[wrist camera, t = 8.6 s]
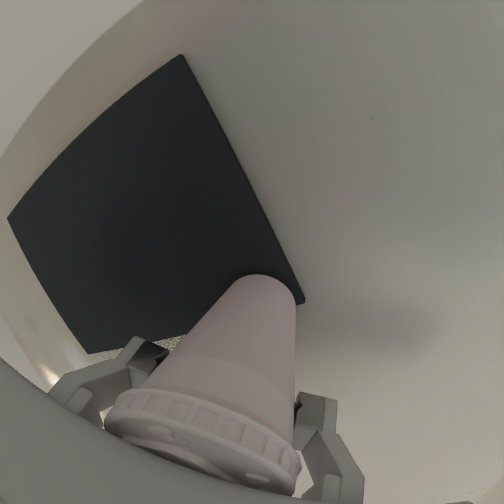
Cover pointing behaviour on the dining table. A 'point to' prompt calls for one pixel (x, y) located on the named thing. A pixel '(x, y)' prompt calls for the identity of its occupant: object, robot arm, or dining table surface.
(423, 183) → the dining table surface
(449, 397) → the dining table surface
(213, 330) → the smoothie
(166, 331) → the mat
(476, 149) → the dining table surface
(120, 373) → the robot arm
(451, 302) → the dining table surface
